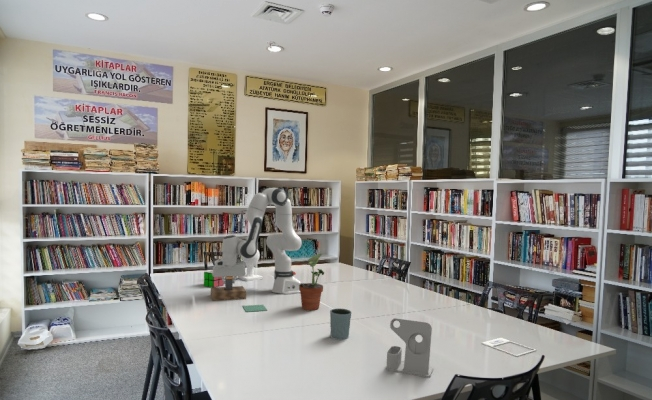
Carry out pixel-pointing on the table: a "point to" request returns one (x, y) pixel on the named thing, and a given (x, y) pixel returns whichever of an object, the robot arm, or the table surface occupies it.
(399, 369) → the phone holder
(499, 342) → the photo frame
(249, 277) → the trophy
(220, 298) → the socket block
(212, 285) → the puzzle cube
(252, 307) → the mat
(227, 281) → the plug
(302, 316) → the table surface
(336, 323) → the blue-grey cup
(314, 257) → the potted plant
